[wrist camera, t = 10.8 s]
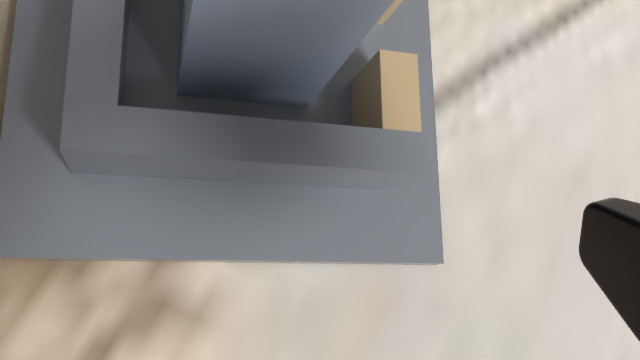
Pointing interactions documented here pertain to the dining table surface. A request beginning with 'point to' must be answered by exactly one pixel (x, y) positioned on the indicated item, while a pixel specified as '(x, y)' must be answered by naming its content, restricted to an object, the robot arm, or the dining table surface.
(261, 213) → the chassis
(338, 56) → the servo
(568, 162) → the dining table surface
